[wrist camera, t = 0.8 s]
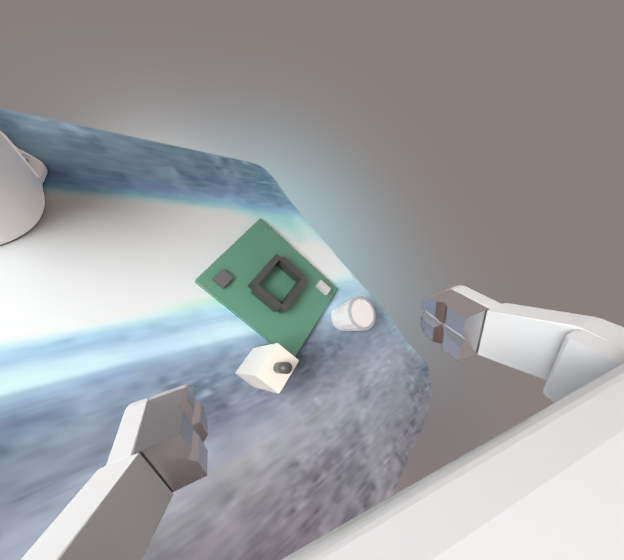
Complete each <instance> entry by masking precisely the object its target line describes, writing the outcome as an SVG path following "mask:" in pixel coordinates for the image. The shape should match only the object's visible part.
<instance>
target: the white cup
mask: <svg viewBox="0 0 624 560" xmlns="http://www.w3.org/2000/svg"><path fill="white" fill-rule="evenodd" d="M331 317H332V322H333V324H334V326H335V327H336V328H337V329H338V330H340V331H363V330H369V329H370V328H371V327H372V326H373V324H374V322H375V317H376V314H375V309H374V307H373V305H372V303H371V302H370V301H369V300H368V299H367V298H365V297H363V296H356V297H354V298H352V299H350V300H348V301H347V302H345V303H343V304H341V305H339V306H337V307H336V308H334V310H333V312H332V316H331Z"/></svg>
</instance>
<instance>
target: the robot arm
mask: <svg viewBox="0 0 624 560" xmlns="http://www.w3.org/2000/svg"><path fill="white" fill-rule="evenodd" d="M27 161H28V162H27ZM46 175H47V167H46V166H45V165H44V164H43V163H42V162H41V161H40V160H38V159H37V158H35V157H33V156H31V155H30V154H28V153H26V152H25V151H23V150H21V149H19V148H18V147H16V146H14V145H13V143H12V142H11V141H10V140H9V139H8V137H7V136H6V135H5V134H4V133H3V132H2V131H0V245H1V244H4V243H7V242H9V241H12V240H14V239H16V238H18V237H20V236H22V235H23V234H25V233H26V232H28V231H29V230H30V229H31V228H32V227H34V226H35V224H36V223H37V222H38V221H39V219H40V218H41V216H42V214H43V211H44V207H45V196H44V192H43V182H44V180H45V178H46ZM422 309H423V310H424V311H425V312H424V313H423V315H422V317H421V327H422V330H423V332H424V333H425V335H426V336H427V337H428V338H429V339H430V340H432V341H434V342H437V343H440V344H441V347H442V349H443V350H444V351H445V352H447V353H448V354H449V355H450V356H451V357H453V358H454V359H455V360H457V361H460V360H462V359H464V358H467V357H469V356H472V355H474V354H476V353H478V355H481V356H483V357H486V358H489V359H491V360H494V361H496V362H499V363H502V364H504V365H507V366H510V367H512V368H515V369H518V370H520V371H523V372H525V373H528V374H531V375H533V376H536V377H539V378H542V379H544V380H547V382H546V384H545V387H544V389H543V392H544V395H545V396H546V397H548V398H549V399H551V400H552V401H553V402H555V403H553V404H551V405H550V406H548V407H546V408H544V409H543V410H541V411H539V412H538V413H536V414H534V415H532V416H530V417H529V418H527V419H525V420H523V421H522V422H520V423H518V424H517V425H515V426H513V427H511V428H510V429H508V430H506V431H504V432H503V433H501V434H499V435H497V436H496V437H494V438H492V439H490V440H489V441H487V442H485V443H484V444H482V445H480V446H478V447H477V448H475V449H473V450H471V451H469V452H468V453H466V454H464V455H463V456H461V457H459V458H457V459H456V460H454V461H452V462H450V463H449V464H447V465H445V466H443V467H442V468H440V469H438V470H436V471H435V472H433V473H431V474H429V475H428V476H426V477H424V478H422V479H421V480H419V481H417V482H416V483H414V484H412V485H410V486H409V487H407V488H405V489H403V490H402V491H400V492H398V493H396V494H395V495H393V496H391V497H389V498H388V499H386V500H384V501H382V502H381V503H379V504H377V505H375V506H374V507H372V508H370V509H368V510H367V511H365V512H363V513H362V514H360V515H358V516H356V517H355V518H353V519H351V520H349V521H348V522H346V523H344V524H342V525H341V526H339V527H337V528H335V529H334V530H332V531H330V532H328V533H327V534H325V535H323V536H322V537H320V538H318V539H316V540H315V541H313V542H311V543H309V544H308V545H306V546H304V547H302V548H301V549H299V550H297V551H295V552H294V553H292V554H290V555H288V556H287V557H285V558H283V559H282V560H624V328H623V327H621V326H618V325H616V324H613V323H611V322H608V321H606V320H603V319H601V318H598V317H591V316H585V315H579V314H572V313H566V312H559V311H553V310H547V309H541V308H535V307H528V306H522V305H515V304H509V303H505V304H501V303H499V302H496V301H495V300H492V299H490V298H488V297H486V296H484V295H482V294H480V293H478V292H476V291H474V290H471V289H469V288H468V287H465V286H463V285H457V286H454V287H452V288H449V289H447V290H445V291H442V292H439V293H436V294H434V295H431V296H429V297H426V298H424V300H423V301H422ZM207 435H208V425H207V419H206V414H205V411H204V408H203V406H202V404H201V402H198V401H195V391H194V390H193V388H192V386H191V385H190V384H186V385H183V386H180V387H177V388H174V389H171V390H168V391H165V392H163V393H160V394H157V395H154V396H151V397H149V398H146V399H143V400H140V401H137V402H134V403H131V404H130V405H129V406H128V407H127V408H126V410H125V413H124V415H123V418H122V421H121V424H120V427H119V430H118V433H117V436H116V438H115V441H114V444H113V447H112V450H111V453H110V456H109V459H108V461H107V464H106V466H105V467H102V468H100V469H98V470H97V472H96V473H95V474H94V475H93V476H92V477H91V479H90V480H89V481H88V482H87V483H86V484H85V486H84V487H83V488H82V489H81V490H80V491H79V493H78V494H77V495H76V496H75V497H74V498H73V500H72V501H71V502H70V503H69V504H68V505H67V506H66V508H65V509H64V510H63V511H62V512H61V513H60V515H59V516H58V517H57V518H56V519H55V520H54V522H53V523H52V524H51V525H50V526H49V527H48V529H47V530H46V531H45V532H44V533H43V534H42V536H41V537H40V538H39V539H38V540H37V541H36V542H35V544H34V545H33V546H32V547H31V548H30V549H29V551H28V552H27V553H26V554H25V555H24V556H23V558H22V559H21V560H141V559H142V557H143V555H144V553H145V551H146V549H147V547H148V545H149V543H150V541H151V539H152V537H153V535H154V533H155V531H156V529H157V527H158V525H159V523H160V520H161V518H162V516H163V514H164V512H165V510H166V508H167V506H168V504H169V502H170V500H171V498H172V496H173V493H172V492H174V491H176V490H178V489H180V488H183V487H185V486H187V485H189V484H191V483H193V482H195V481H197V480H199V479H201V478H203V477H205V476H207V449H206V447H205V445H204V444H203V442H204V441H205V439H206V437H207Z"/></svg>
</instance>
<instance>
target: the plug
mask: <svg viewBox="0 0 624 560" xmlns="http://www.w3.org/2000/svg"><path fill="white" fill-rule="evenodd" d="M298 362H299V360H298V359H297V358H296V357H294V356H293V355H292V354H291V353H289V352H288V351H287V350H286V349H284V348H283V347H282V346H281V345H280V344H278V343H275V344H270V345H265V346H260V347H255V348H253V349H252V351H251V352H250V353H249V355H248V356H247V357H246V359H245V360H244V361H243V363H242V364H241V366H240V367H239V368H238V370H237V371H236V372H235V373H236V374H237V375H238V376H240V377H241V378H242V379H244V380H245V381H246V382H248V383H249V384H250V385H252V386H253V387H256V388H260V389H263V390H267V391H271V392H274V393H278V394H279V393H280V391H281V390H282V388H283V386H284V385H285V383H286V381H287V380H288V378H289V376H290V375H291V373H292V372H293V370H294V368H295V367H296V365H297V363H298Z"/></svg>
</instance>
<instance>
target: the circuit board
mask: <svg viewBox="0 0 624 560" xmlns="http://www.w3.org/2000/svg"><path fill="white" fill-rule="evenodd" d="M195 283H197V284H198V285H199V286H200V287H202V288H203V289H204V290H205V291H206V292H208V293H209V294H210V295H211V296H213V297H214V298H215V299H216V300H218V301H219V302H220V303H221V304H223V305H224V306H225V307H226V308H228V309H229V310H230V311H231V312H233V313H234V314H235V315H236V316H237V317H239V318H240V319H241V320H242V321H244V322H245V323H246V324H247V325H249V326H250V327H251V328H252V329H254V330H255V331H256V332H257V333H259V334H260V335H261V336H262V337H264V338H265V339H266V340H267V341H268V342H270V343H271V344H275V343H278V344H280V345H281V346H282V347H283V348H284V349H286V350H287V351H288V352H289V353H291V354H292V355H293V356H294V357H295V356H296V354H297V353H298V351H299V350H300V348H301V346H302V345H303V343H304V342H305V340H306V338H307V337H308V335H309V334H310V332H311V330H312V329H313V327H314V326H315V324H316V322H317V321H318V319H319V318H320V316H321V314H322V313H323V311H324V310H325V308H326V306H327V305H328V303H329V302H330V300H331V298H332V297H333V295H334V294H335V292H336V290H337V288H336V287H335V286H334V285H333V284H331V283H330V282H329V281H328V280H327V279H326V278H325V277H324V276H323V275H322V274H321V273H319V272H318V271H317V270H316V269H315V268H314V267H313V266H312V265H311V264H310V263H309V262H308V261H306V260H305V259H304V258H303V257H302V256H301V255H300V254H299V253H298V252H297V251H296V250H294V249H293V248H292V247H291V246H290V245H289V244H288V243H287V242H286V241H285V240H284V239H283V238H281V237H280V236H279V235H278V234H277V233H276V232H275V231H274V230H273V229H272V228H271V227H269V226H268V225H267V224H266V223H265V222H264V221H263V220H262V219H261V218H260V219H259V220H258V221H257V222H256V223H255V224H254V225H253V226H252V227H251V228H250V229H249V230H248V231H247V232H246V233H245V234H244V235H243V236H241V237H240V238H239V239H238V240H237V241H236V242H235V243H234V244H233V245H232V246H231V247H230V248H229V249H228V250H227V251H226V252H225V253H224V254H222V255H221V256H220V257H219V258H218V259H217V260H216V261H215V262H214V263H213V264H212V265H211V266H210V267H209V268H208V269H207V270H206V271H205V272H203V273H202V274H201V275H200V276H199V277H198V278H197V279H196V280H195Z"/></svg>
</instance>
